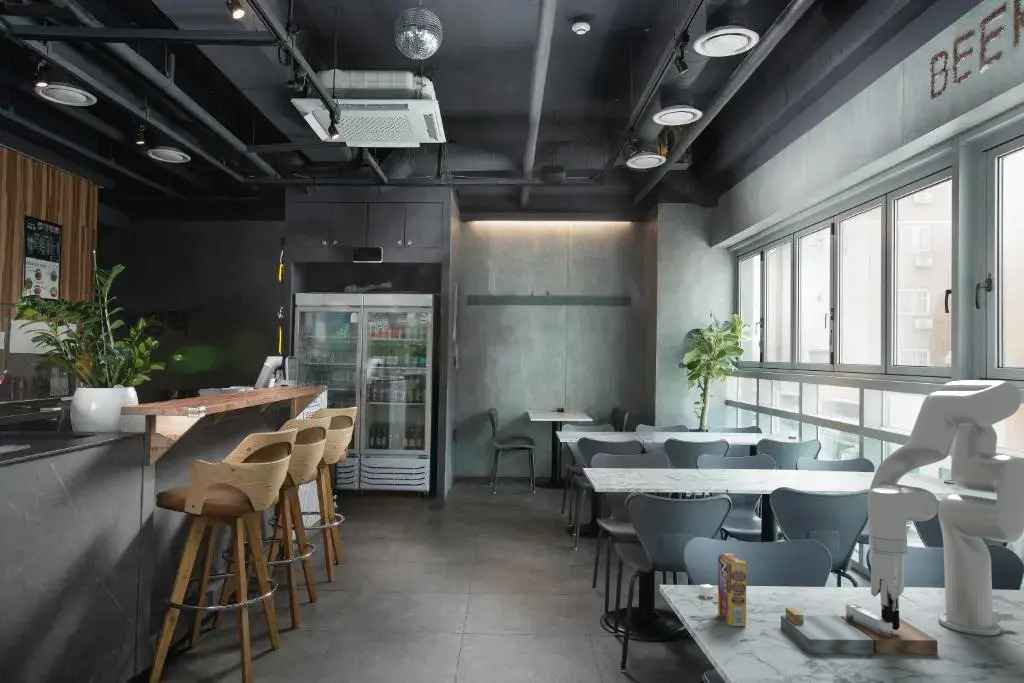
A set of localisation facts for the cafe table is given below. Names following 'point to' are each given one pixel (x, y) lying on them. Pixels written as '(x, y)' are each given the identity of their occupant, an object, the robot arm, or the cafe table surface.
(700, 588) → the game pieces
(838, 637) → the gray and brown slabs
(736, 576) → the candy box
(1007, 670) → the cafe table surface
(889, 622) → the swing bar
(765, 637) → the cafe table surface
